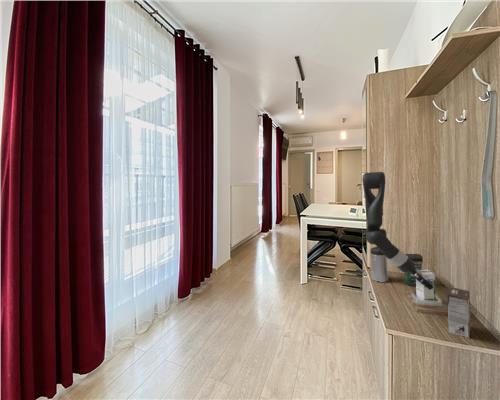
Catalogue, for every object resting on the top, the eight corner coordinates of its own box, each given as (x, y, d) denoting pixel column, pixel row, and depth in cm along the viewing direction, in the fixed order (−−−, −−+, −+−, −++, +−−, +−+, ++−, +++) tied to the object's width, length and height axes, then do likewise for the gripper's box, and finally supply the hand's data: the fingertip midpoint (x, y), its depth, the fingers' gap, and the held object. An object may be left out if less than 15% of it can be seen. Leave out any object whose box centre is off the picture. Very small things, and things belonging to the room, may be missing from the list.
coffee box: (450, 322, 103) (449, 286, 102) (470, 328, 98) (470, 290, 97) (448, 332, 96) (447, 294, 95) (469, 339, 92) (468, 298, 91)
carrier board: (406, 293, 131) (406, 290, 131) (436, 296, 126) (436, 293, 126) (416, 311, 113) (416, 308, 113) (453, 315, 107) (452, 312, 107)
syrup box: (423, 302, 115) (423, 273, 114) (416, 297, 121) (415, 269, 120) (436, 302, 115) (435, 273, 114) (427, 296, 120) (426, 269, 120)
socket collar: (411, 296, 124) (411, 291, 124) (434, 298, 121) (434, 293, 120) (417, 305, 115) (417, 299, 115) (442, 308, 111) (442, 302, 111)
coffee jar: (407, 286, 140) (406, 256, 139) (401, 281, 147) (401, 252, 146) (426, 287, 138) (425, 255, 137) (419, 281, 145) (418, 252, 145)
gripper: (410, 260, 113) (441, 286, 109) (403, 252, 126) (430, 275, 122) (398, 270, 115) (427, 296, 111) (392, 261, 128) (418, 284, 125)
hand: (429, 285), depth 117 cm, fingers closed on syrup box, 7 cm apart
